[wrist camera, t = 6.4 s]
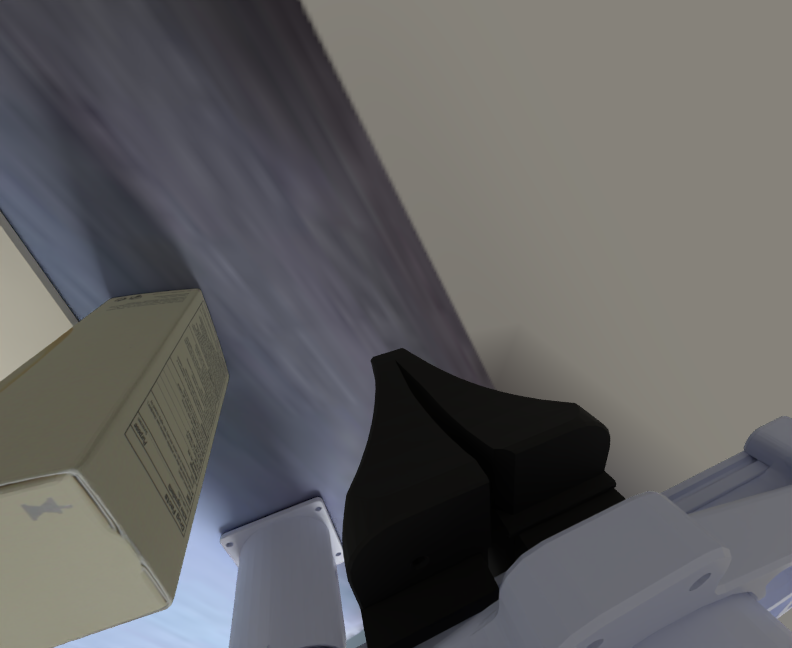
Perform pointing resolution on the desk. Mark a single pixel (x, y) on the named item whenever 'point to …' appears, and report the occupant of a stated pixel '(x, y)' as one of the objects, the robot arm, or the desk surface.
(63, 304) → the mat
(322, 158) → the desk surface
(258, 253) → the desk surface
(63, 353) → the skincare box
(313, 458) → the desk surface
